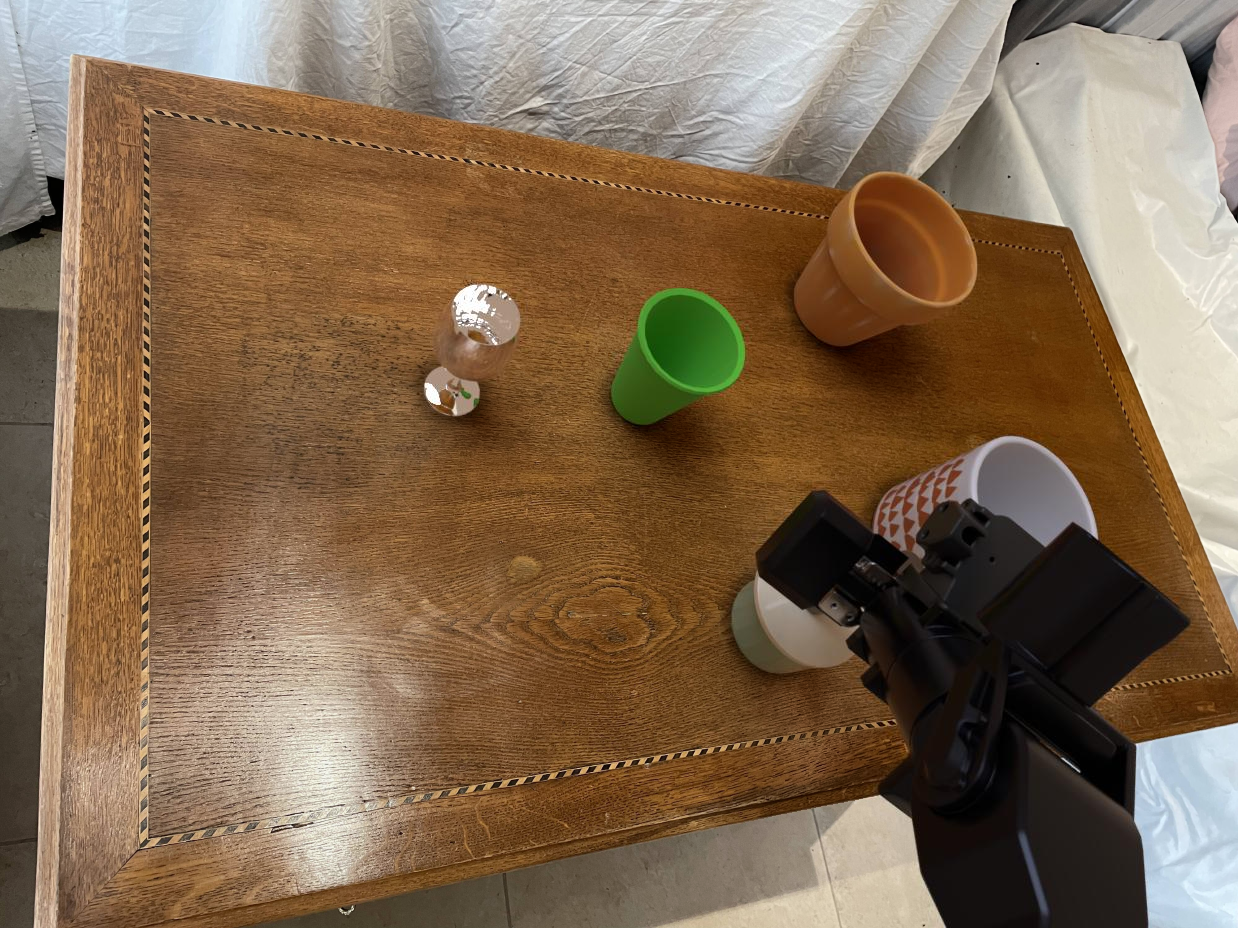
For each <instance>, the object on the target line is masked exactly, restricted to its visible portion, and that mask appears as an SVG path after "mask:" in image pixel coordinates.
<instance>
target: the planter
mask: <svg viewBox="0 0 1238 928" xmlns="http://www.w3.org/2000/svg"><path fill="white" fill-rule="evenodd" d="M968 498H972V499H973V500H974V501H975V502H977V503H978V504H979V505H980V506H982V507H986V508H987V509H988V510H989V511H990V512H992V513H993V514H994V515H1003V516H1007V517H1009V518H1010V519H1012V520H1013V521H1014V522H1015V523H1017V524H1018V525H1019V526H1020V527H1022V528H1023V529H1024V530H1025V531H1026V532H1028V533H1029V534H1030V535H1031V536H1033V537H1034V538H1035V539H1036V540H1037V541H1039V542H1040V543H1041V544H1042V545H1044V546H1045V547H1046V546H1047V545H1048V544H1049V543H1050V542H1051V541H1052V540H1053V539H1054V538H1055V537H1057V536H1058V535H1059V534H1060V533H1061V532H1062V531H1063V530H1064V529H1065V528H1066V527H1067V526H1068V525H1069V524H1070V523H1071V522H1074V523H1076V524H1078V525H1079V526H1081V527H1082V528H1083V529H1085V530H1086V531H1088V532H1089V533H1090V534H1091V535H1093V536H1094V537H1095V538H1096V539H1098V540H1099V533H1098V528H1097V522H1096V518H1095V515H1094V512H1093V509H1092V506H1091V504H1090V502H1089V498H1088V496H1087V494H1086V493H1085V491H1084V489H1083V487H1082V485H1081V483H1080V482H1079V481H1078V480H1077V478H1076V476H1075V475H1074V474H1073V472H1072V471H1071V470H1070V468H1068V466H1067V465H1066V464H1065V462H1063V461H1062V459H1060V458H1059V457H1058V456H1056V455H1055V454H1054V453H1053V452H1052V451H1051V450H1049V449H1048V448H1046V447H1044V446H1043V445H1042V444H1040V443H1038V442H1036V441H1034V440H1031V439H1028V438H1025V437H1022V436H1016V435H1009V436H1008V435H1005V436H1000V437H997V438H994V439H992V440H990V441H988V442H985V443H984V444H981V445H979V446H977V447H975V448H973V449H971V450H968V451H967V452H964V453H962V454H959V455H957V456H956V457H954V458H951V459H950V460H947V461H944V462H943V463H941V464H939V465H937V466H935V467H932V468H930V469H928V470H926V471H923V472H921V473H919V474H918V475H915V476H913V477H911V478H909V479H907V480H905V481H902V482H901V483H898V484H897V485H895V486H893V487H891V488H890V489H889V490H888V491H886V493H884V494H883V496H882V497H881V499H880V500H879V502H878V503H877V505H876V508H875V510H874V513H873V516H872V522H871V530H872V531H873V533H876V534H880V535H881V536H882V537H884V538H885V539H886V540H888V541H889V542H890V543H891V544H893V545H894V546H895V547H896V548H898V549H899V550H900V551H903V550H908V551H911V552H913V553H915V554H916V555H917V556H918V557H919V558H920V559H921V561H922V559H923V557H924V555H925V552H924V549H923V548H922V547H920V546H919V545H918V544H917V543H916V534H917V533H918V531H919V530H920V528H921V527H922V525H923V524H924V523H925V521H926V520H927V518H928V517H929V516H930V514H931V513H932V511H933V510H934V509H935V507H936V506H937V505H939V504H940V503H942V502H945V501H952V502H958V503H959V504H960V505H961V504H962V502H963V501H965V500H966V499H968ZM924 568H925V567H924Z"/></svg>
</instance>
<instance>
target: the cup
mask: <svg viewBox="0 0 1238 928" xmlns="http://www.w3.org/2000/svg"><path fill="white" fill-rule="evenodd" d="M745 345H746V344H745V341H744V337H743V334H742V331H741V329H740V327H739V325H738V323H737V322H736V319H734V317H733V315H731V313H730V312H729V311H728V310H727V309H726V307H724V306H723V305H722V304H720V303H719V302H718V301H717V300H716V299H714V298H713V297H712V296H709V295H707V294H706V293H704V292H701V291H699V290H695V289H693V288H684V287H675V288H668V289H665V290H662V291H659V292H656V293H655V294H653V296H651V297H650V298H649V299H648V300H646V302H645V304H644V305H643V306H642V308H641V310H640V313H639V317H638V320H637V329H636V331H635V333H634V335H633V338H632V339H631V341H630V344H629V346H628V348H627V351H626V353H625V355H624V357H623V359H622V361H621V364H620V365H619V368H618V370H617V372H616V374H615V376H614V379H613V381H612V384H611V387H610V396H611V401H612V405H613V407H614V409H615V411H616V412H617V413H618V414H619V416H620V417H622V418H623V419H624V420H625V421H628V422H630V423H632V424H635V425H642V426H643V425H644V426H648V425H652V424H654V423H656V422H658V421H660V420H662V419H664V418H666V417H667V416H670V415H671V414H674V413H676V412H677V411H679V410H680V409H683V408H684V407H686V406H689V405H690V404H693V403H694V402H696V401H698V400H700V399H702V398H704V397H705V396H710V395H716V394H720V393H722V392H724V391H726V390H728V389H730V388H731V387H732V386H733V385H734V384H735V383H736V382H737V381H738V379H739V378H740V377H741V374H742V372H743V370H744V365H745V360H746V346H745Z"/></svg>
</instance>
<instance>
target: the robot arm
mask: <svg viewBox="0 0 1238 928" xmlns="http://www.w3.org/2000/svg"><path fill="white" fill-rule="evenodd" d="M916 543H917V544H918V545H919V546H920V547H922V548H923V549H924V552H925V555H924V557H923V559H922V561H921V564H922V565H923V566H924V567H925V568H924V569H923V570H922V571H920V570H919V569H918V568H917V567H915V566H914V565H913V564H912V563H910V564H909V565H908V566H907V567H906V568H905V569H904V570H903V571H902V572H901V573H900V574H899V575H898V576H897V578H895V577H893V576H892V575H893V574H894V573H895V572H896V571H897V570H898V569H899V568H900V567H901V566H902V565H903V564H904V563H905V562H906V561H907V560H908V559H909V557H908V556H906V555H905V554H904V553H903V552H901V551H900V550H899V549H898V548H896V547H895V546H894V545H893V544H891V543H890V542H889V541H888V540H886V539H885V538H884V537H882V536H881V535H880V534H876V533H873V531H872V527H871V526H869V525H868V524H867V523H866V522H865V521H864V520H862V518H860V517H859V516H858V514H856V513H855V512H854V511H852V510H851V509H850V508H849V507H847V506H846V505H845V504H844V503H842V502H841V501H840V500H838V499H837V498H836V497H835V496H834V495H833V494H831V493H830V492H828V491H827V490H826V489H821V490H811V491H810V492H809V493H808V494H807V495H806V497H804V498H803V500H802V501H801V502H800V503H799V504H798V505H797V506H796V508H794V510H793V511H792V512H791V513H790V514H789V515H788V516H787V517H786V518H785V519H784V521H782V523H780V525H779V526H778V527H777V528H776V529H775V531H773V533H772V534H771V535H770V536H769V537H768V538H767V539H766V540H765V541H764V543H762V545H761V546H759V548H757V550H756V551H755V552H754V553H755V565H756V571H757V570H758V575H759V577H760V578H761V579H763V580H764V581H765V582H766V583H768V584H769V585H770V586H772V587H773V588H774V589H775V590H777V591H778V592H779V593H781V594H782V595H783V596H784V597H786V598H787V599H788V600H790V601H791V602H792V603H793V604H795V605H796V606H797V607H799V608H800V609H801V610H805V609H808V608H811V607H814V606H815V607H816V608H817V609H819V610H820V611H821V612H823V613H824V614H825V615H826V616H828V617H829V618H830V619H832V620H833V621H834V622H835V623H837V624H838V625H839V626H841V627H842V626H844V627H846V628H853V627H855V626H859V627H858V628H857V629H856V630H855V631H854V632H853V633H852V634H851V635H850V636H849V637H848V638H847V639H846V640H845V641H846V644H847V646H848V649H849V650H851V651H852V652H853V653H855V654H854V655H856V656H857V657H858V658H859V659H861V660H862V661H863V662H865V663H866V664H868V665H869V667H868V668H867V669H866V670H865V671H864V672H863V673H862V674H861V675H860V676H859V678H860V681H861V683H862V685H863V687H864V688H865V689H866V690H868V691H869V692H870V693H872V694H873V695H874V696H875V697H877V698H878V699H879V700H880V701H882V702H883V703H884V704H886V705H887V706H888V707H889V709H890V711H891V714H892V716H893V719H894V721H895V723H896V725H897V727H898V730H899V732H900V734H901V737H902V738H903V741H904V743H905V745H906V748H907V750H908V754H907V756H906V757H905V758H904V759H903V760H902V761H901V762H900V763H899V764H898V765H897V766H895V768H893V769H892V771H890V772H889V773H888V774H887V775H886V776H885V777H884V778H882V780H881V781H879V783H878V785H877V789H876V790H877V793H878V795H879V796H881V797H882V798H883V799H884V800H885V801H887V802H888V803H889V804H891V805H892V806H894V807H895V808H896V809H898V810H899V811H900V812H902V813H903V814H904V815H906V816H907V817H908V818H909V819H911V825H912V831H913V836H914V843H915V850H916V855H917V862H918V868H919V872H920V877H921V879H922V880H923V883H924V885H925V887H926V889H927V891H928V893H929V896H930V897H931V899H932V902H933V903H934V906H935V909H936V910H937V911H938V914H939V917H941V921H942V923H943V925H944V927H945V928H1149V912H1148V910H1149V909H1148V895H1147V882H1146V868H1145V853H1144V845H1143V839H1142V836H1141V832H1140V831H1139V828H1138V826H1137V824H1136V821H1135V813H1136V812H1135V811H1136V783H1137V782H1136V781H1137V778H1136V777H1137V754H1138V753H1137V751H1138V749H1137V744H1136V743H1135V741H1133V740H1132V739H1130V738H1129V737H1128V736H1126V735H1125V734H1124V733H1122V731H1121V730H1119V729H1118V728H1116V727H1115V726H1114V725H1113V724H1111V723H1110V722H1109V721H1108V720H1107V719H1106V717H1104V715H1102V713H1101V712H1100V711H1099V710H1098V708H1096V706H1095V704H1097V702H1098V701H1100V700H1101V699H1102V698H1103V697H1104V696H1105V695H1107V694H1108V693H1109V692H1110V691H1111V690H1112V689H1113V688H1115V687H1116V686H1117V685H1118V684H1119V683H1120V682H1121V681H1122V680H1123V679H1125V678H1126V677H1127V676H1128V675H1129V674H1130V673H1132V672H1133V671H1134V670H1135V669H1136V668H1138V666H1139V665H1141V664H1142V663H1143V662H1144V661H1145V660H1146V659H1147V658H1149V657H1150V656H1152V655H1153V654H1155V653H1156V652H1158V651H1159V650H1161V649H1163V648H1164V647H1166V646H1167V645H1169V644H1170V643H1171V642H1172V641H1174V640H1175V639H1176V638H1178V637H1179V636H1180V634H1182V633H1183V632H1184V631H1186V630H1187V629H1188V628H1189V627H1190V626H1191V624H1192V623H1191V622H1192V618H1191V617H1190V616H1188V615H1187V614H1186V613H1185V612H1184V611H1182V608H1181V606H1179V605H1178V604H1176V603H1175V602H1174V601H1173V600H1172V599H1170V598H1169V597H1168V596H1167V595H1165V593H1163V592H1162V591H1161V590H1159V589H1158V588H1157V587H1156V586H1155V585H1153V584H1152V583H1151V582H1150V581H1149V580H1147V579H1146V578H1145V577H1144V576H1142V575H1141V574H1140V573H1139V572H1138V571H1136V570H1135V569H1134V568H1133V567H1132V566H1131V565H1129V564H1128V563H1127V562H1125V561H1124V560H1123V558H1121V557H1119V555H1117V554H1116V553H1115V552H1114V551H1112V550H1111V549H1110V548H1109V547H1107V546H1106V545H1105V544H1104V543H1103V542H1101V541H1100V540H1099V538H1098V539H1096V538H1095V537H1094V536H1093V535H1091V534H1090V533H1089V532H1088V531H1086V530H1085V529H1083V528H1082V527H1081V526H1079V525H1078V524H1076V523H1074V522H1071V523H1070V524H1069V525H1068V526H1067V527H1066V528H1065V529H1064V530H1063V531H1062V532H1061V533H1060V534H1059V535H1058V536H1057V537H1055V538H1054V539H1053V540H1052V541H1051V542H1050V543H1049V544H1048V545H1047V546H1046V547H1045V546H1044V545H1042V544H1041V543H1040V542H1039V541H1037V540H1036V539H1035V538H1034V537H1033V536H1031V535H1030V534H1029V533H1028V532H1026V531H1025V530H1024V529H1023V528H1022V527H1020V526H1019V525H1018V524H1017V523H1015V522H1014V521H1013V520H1012V519H1010V518H1009V517H1007V516H1003V515H994V514H993V513H992V512H990V511H989V510H988V509H987V508H986V507H982V506H980V505H979V504H978V503H977V502H975V501H974V500H973V499H972V498H968V499H966V500H965V501H963V502H962V504H961V505H960V504H959V503H958V502H952V501H945V502H942V503H940V504H939V505H937V506H936V507H935V509H934V510H933V511H932V513H931V514H930V516H929V517H928V518H927V520H926V521H925V523H924V524H923V525H922V527H921V528H920V530H919V531H918V533H917V534H916ZM861 607H862V608H863V609H864V611H862V609H861Z"/></svg>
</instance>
